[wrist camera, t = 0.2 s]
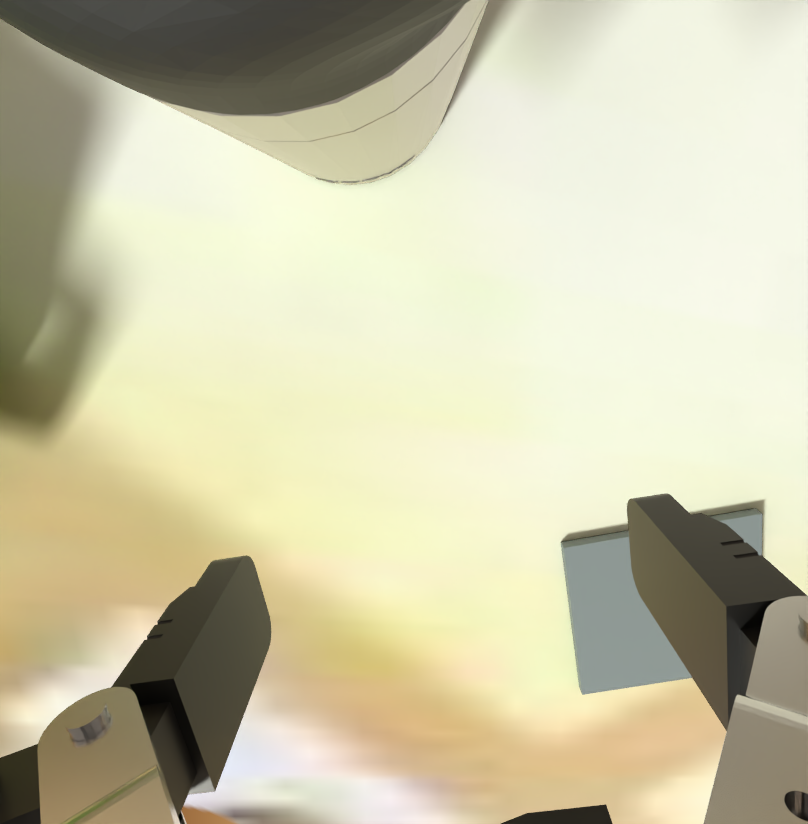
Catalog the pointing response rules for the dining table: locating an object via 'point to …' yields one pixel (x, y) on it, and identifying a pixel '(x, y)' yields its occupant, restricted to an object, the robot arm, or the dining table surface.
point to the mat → (624, 611)
